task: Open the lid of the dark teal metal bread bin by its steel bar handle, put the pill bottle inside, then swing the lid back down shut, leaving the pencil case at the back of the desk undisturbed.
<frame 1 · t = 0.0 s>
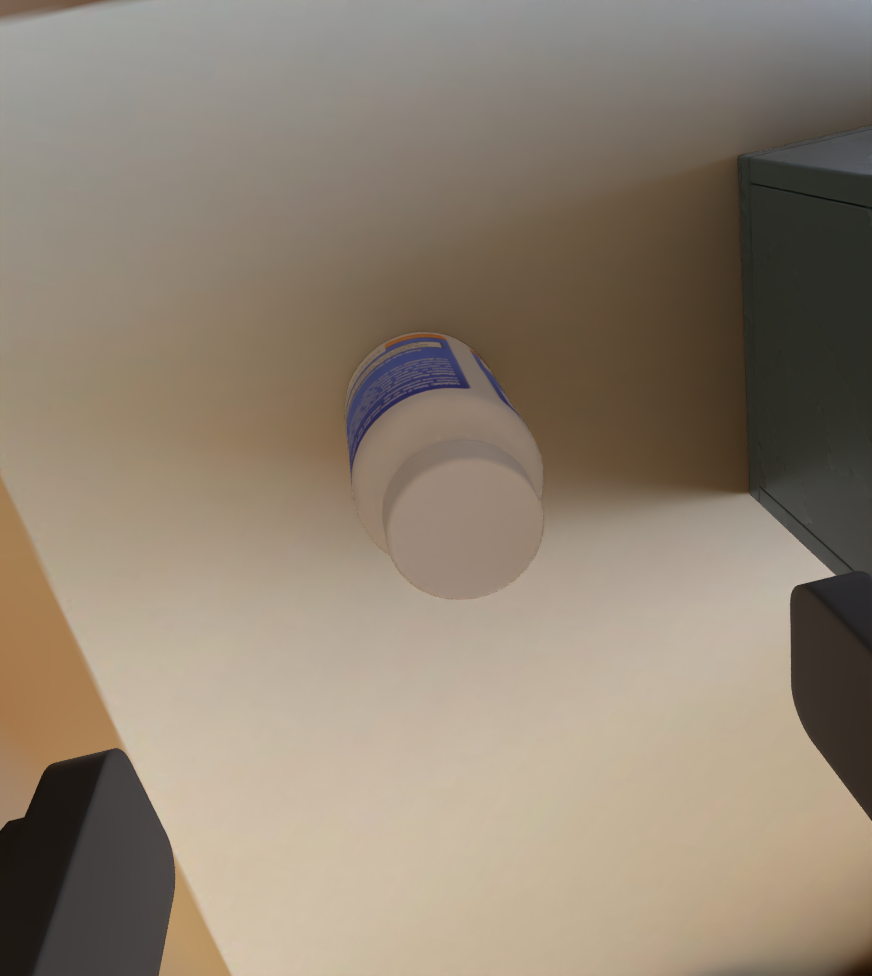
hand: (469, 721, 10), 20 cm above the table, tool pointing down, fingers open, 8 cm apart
pill bottle: (421, 401, 29), on the table
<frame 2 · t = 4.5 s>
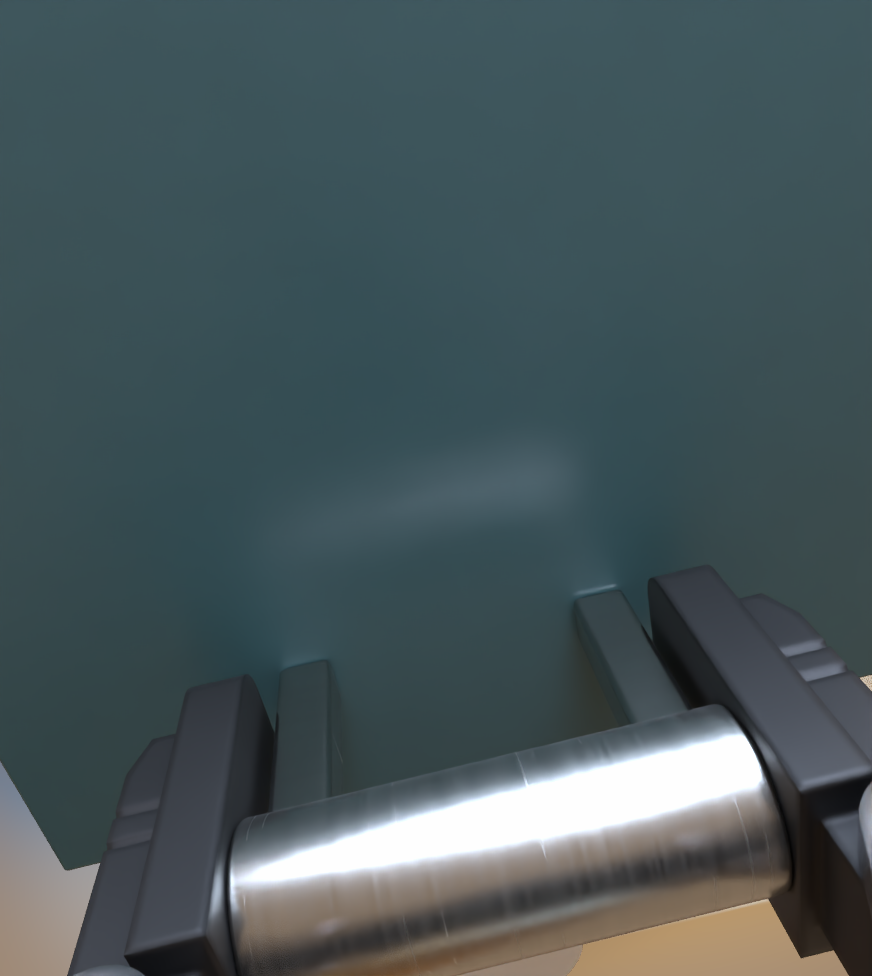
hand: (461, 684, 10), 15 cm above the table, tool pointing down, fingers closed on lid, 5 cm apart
lid: (390, 379, 8), point 16 cm above the table, hinge at -0.1°, touching gripper
pill bottle: (455, 699, 30), on the table
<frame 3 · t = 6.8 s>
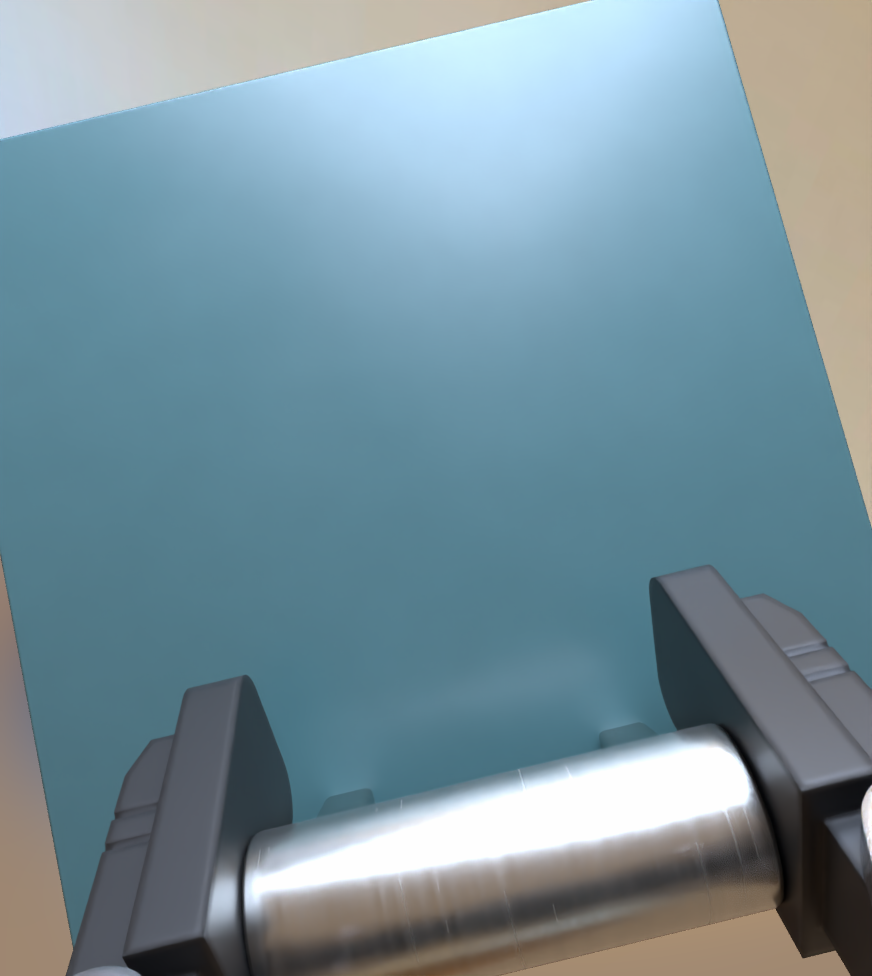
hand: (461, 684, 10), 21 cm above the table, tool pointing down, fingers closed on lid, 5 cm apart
lid: (413, 466, 11), point 19 cm above the table, hinge at 33.6°, touching gripper
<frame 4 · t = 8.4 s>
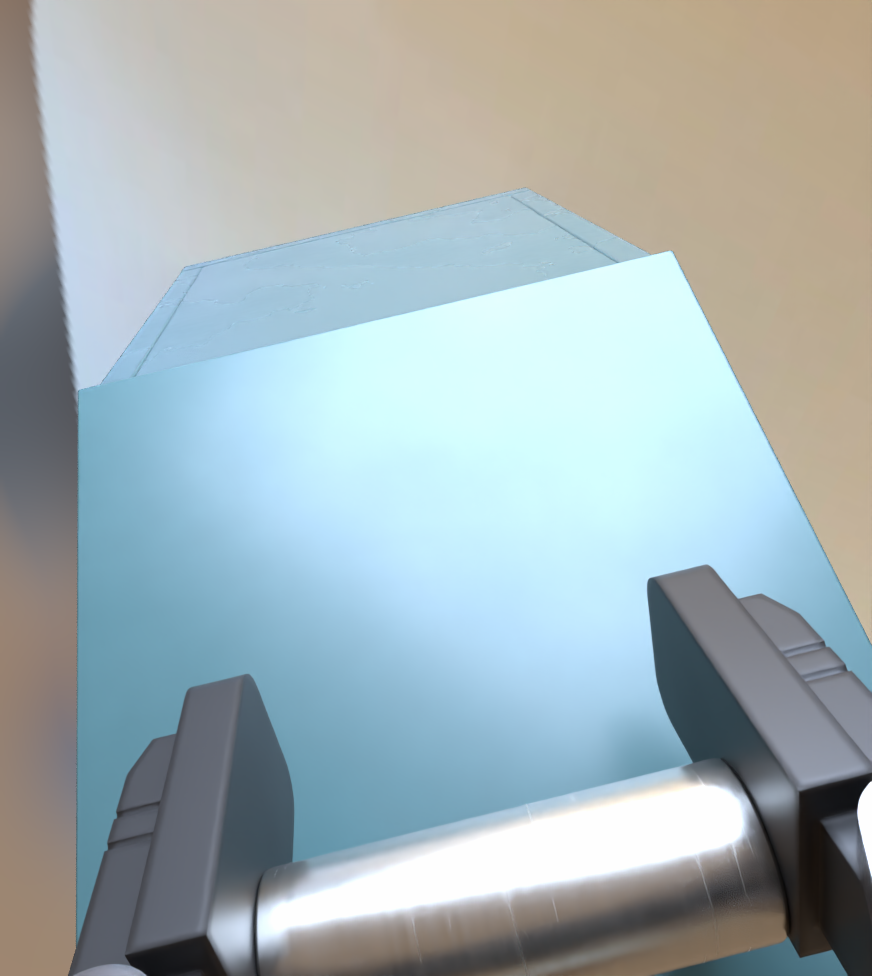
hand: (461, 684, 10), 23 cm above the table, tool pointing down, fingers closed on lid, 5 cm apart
lid: (438, 579, 12), point 21 cm above the table, hinge at 56.9°, touching gripper
bread bin: (394, 389, 32), on the table
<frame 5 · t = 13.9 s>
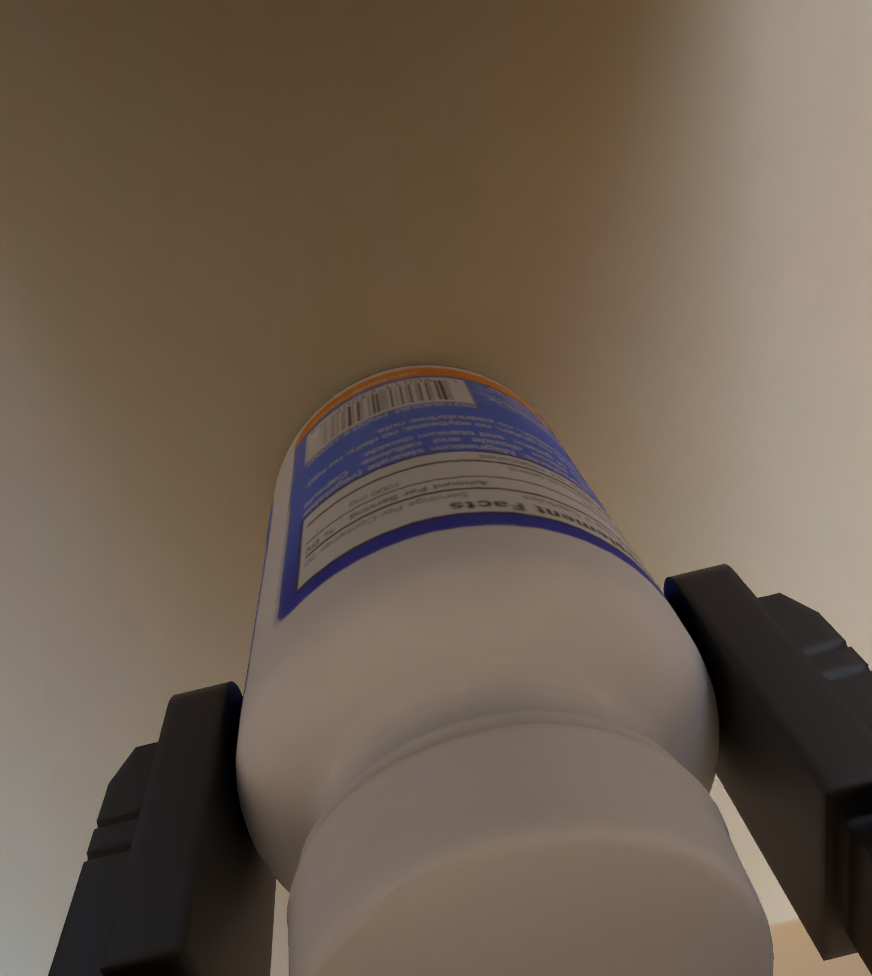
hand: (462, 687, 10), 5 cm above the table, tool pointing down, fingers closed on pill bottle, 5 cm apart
pill bottle: (419, 492, 16), on the table, touching gripper
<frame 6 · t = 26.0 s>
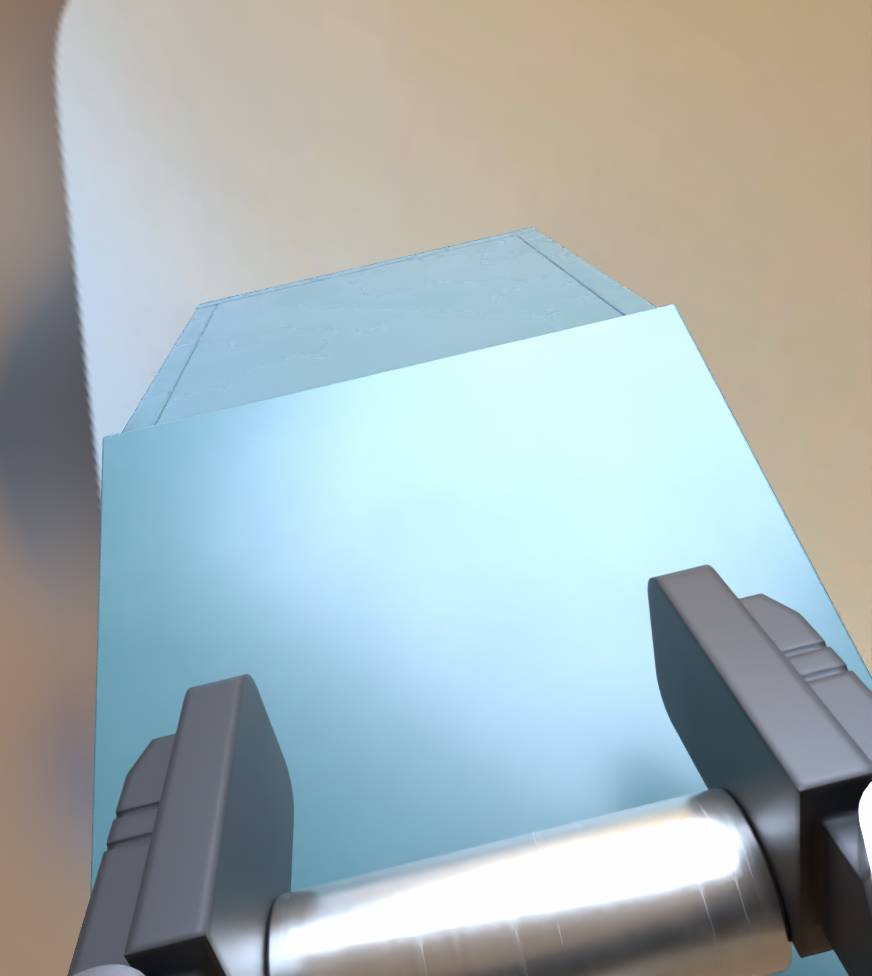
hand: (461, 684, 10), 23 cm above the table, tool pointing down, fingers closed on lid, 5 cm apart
lid: (448, 617, 13), point 21 cm above the table, hinge at 59.8°, touching gripper
bread bin: (403, 421, 33), on the table
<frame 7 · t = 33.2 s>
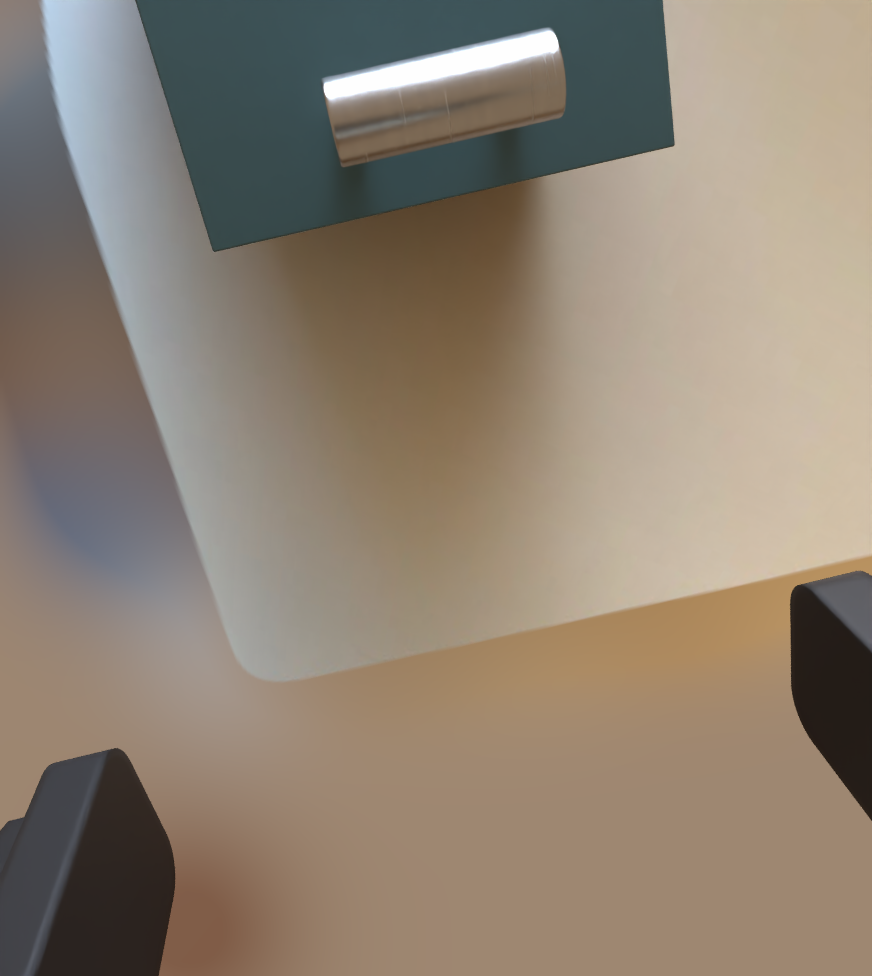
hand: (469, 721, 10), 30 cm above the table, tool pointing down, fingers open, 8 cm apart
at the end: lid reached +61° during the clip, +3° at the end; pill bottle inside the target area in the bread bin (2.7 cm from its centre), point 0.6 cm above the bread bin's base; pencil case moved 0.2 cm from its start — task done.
